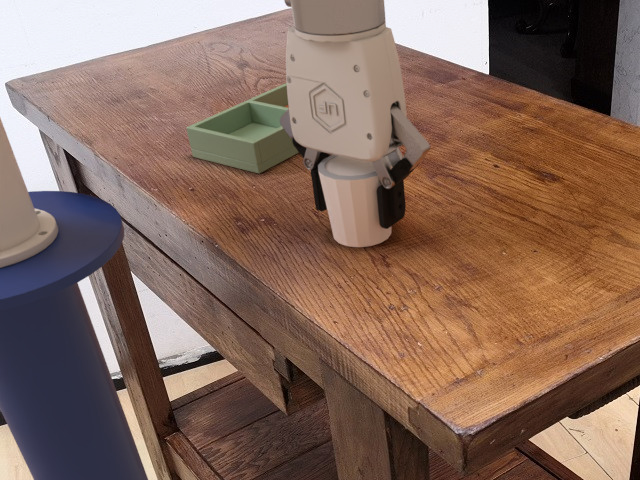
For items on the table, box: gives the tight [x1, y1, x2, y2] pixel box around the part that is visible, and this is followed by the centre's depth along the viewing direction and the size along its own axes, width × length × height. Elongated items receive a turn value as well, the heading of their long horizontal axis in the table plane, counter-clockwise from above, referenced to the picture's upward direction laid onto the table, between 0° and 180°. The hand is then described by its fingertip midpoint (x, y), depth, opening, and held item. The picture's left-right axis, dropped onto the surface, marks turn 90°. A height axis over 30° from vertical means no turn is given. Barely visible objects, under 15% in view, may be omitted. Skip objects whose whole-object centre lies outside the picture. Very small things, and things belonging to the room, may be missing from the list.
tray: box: [185, 82, 300, 174], centre depth 100 cm, size 20×10×4 cm, turn 147°
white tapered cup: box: [318, 154, 393, 248], centre depth 78 cm, size 7×7×7 cm
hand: (360, 212), depth 79 cm, fingers closed on white tapered cup, 6 cm apart
